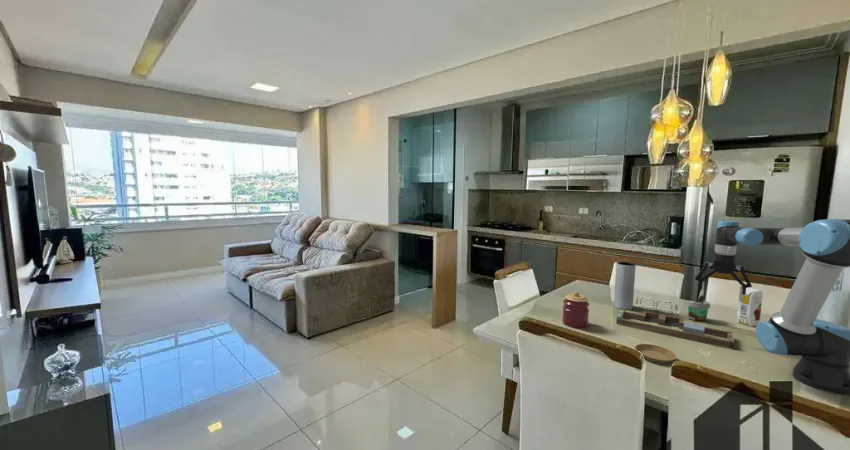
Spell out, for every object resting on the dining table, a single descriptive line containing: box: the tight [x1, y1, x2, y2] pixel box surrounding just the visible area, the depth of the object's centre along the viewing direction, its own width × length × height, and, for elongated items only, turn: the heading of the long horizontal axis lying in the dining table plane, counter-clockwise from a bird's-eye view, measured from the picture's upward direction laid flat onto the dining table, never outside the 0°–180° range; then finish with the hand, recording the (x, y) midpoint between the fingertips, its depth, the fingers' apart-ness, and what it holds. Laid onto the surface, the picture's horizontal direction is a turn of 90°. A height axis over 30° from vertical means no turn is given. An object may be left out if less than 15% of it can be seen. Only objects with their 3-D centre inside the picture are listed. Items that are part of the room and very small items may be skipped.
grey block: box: [682, 321, 706, 336], centre depth 169 cm, size 8×8×5 cm
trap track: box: [615, 309, 735, 350], centre depth 178 cm, size 22×47×4 cm, turn 52°
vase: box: [613, 261, 637, 311], centre depth 209 cm, size 10×10×27 cm
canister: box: [561, 291, 590, 329], centre depth 183 cm, size 13×13×18 cm
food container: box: [687, 300, 711, 323], centre depth 188 cm, size 12×6×10 cm, turn 105°
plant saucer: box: [634, 343, 677, 364], centre depth 148 cm, size 15×15×3 cm
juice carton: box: [736, 287, 763, 327], centre depth 184 cm, size 8×9×19 cm
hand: (720, 298), depth 162 cm, fingers open, 13 cm apart
